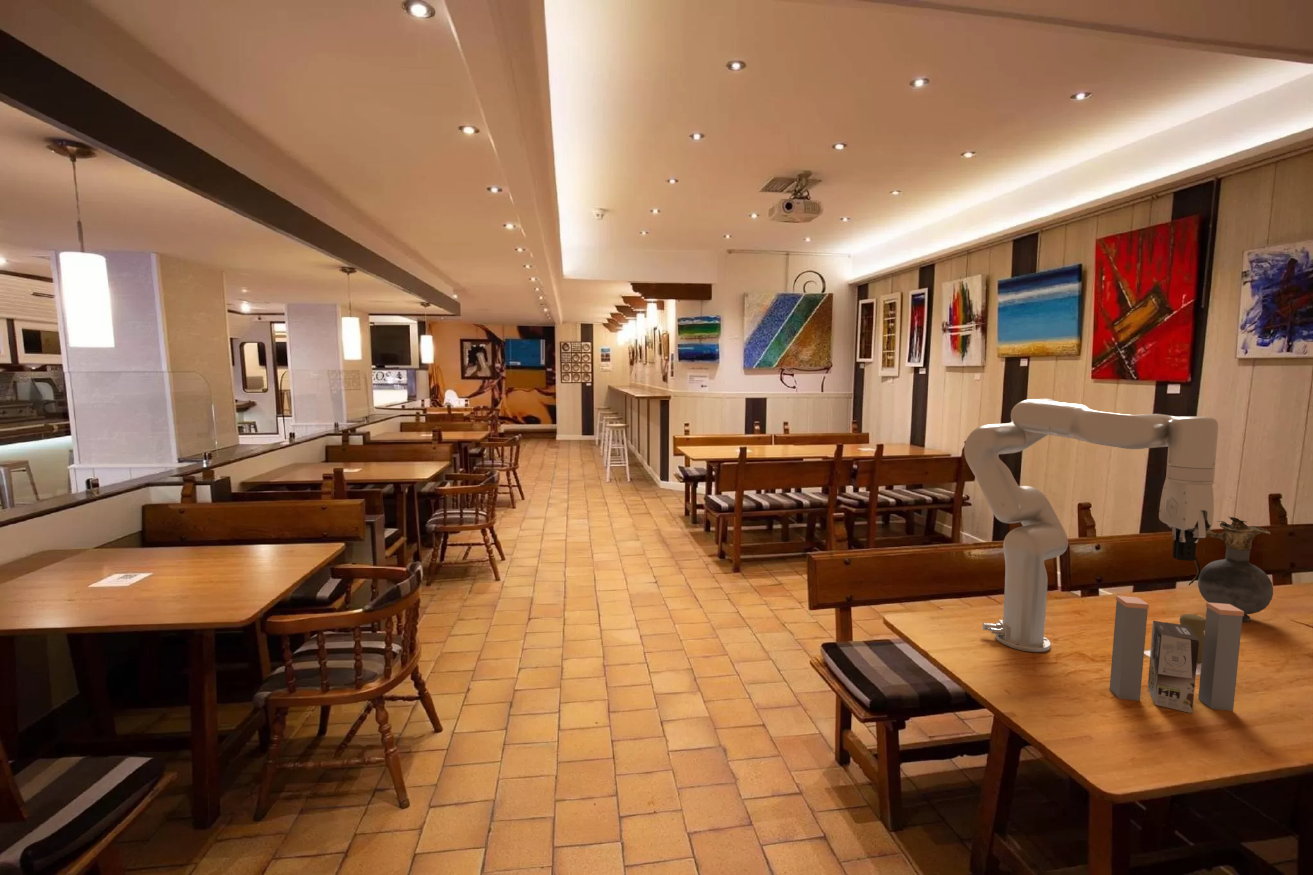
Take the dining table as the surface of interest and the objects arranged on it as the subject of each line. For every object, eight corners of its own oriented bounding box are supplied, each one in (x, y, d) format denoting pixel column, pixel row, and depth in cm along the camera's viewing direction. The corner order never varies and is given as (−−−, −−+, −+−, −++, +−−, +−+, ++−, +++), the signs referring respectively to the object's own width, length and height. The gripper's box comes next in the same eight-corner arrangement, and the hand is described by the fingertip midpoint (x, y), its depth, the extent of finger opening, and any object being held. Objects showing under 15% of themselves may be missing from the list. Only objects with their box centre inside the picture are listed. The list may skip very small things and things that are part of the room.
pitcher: (1263, 630, 163) (1274, 525, 160) (1175, 607, 179) (1184, 512, 176) (1274, 621, 169) (1285, 520, 166) (1188, 600, 185) (1197, 508, 182)
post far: (1210, 708, 125) (1219, 609, 122) (1197, 698, 129) (1206, 602, 127) (1234, 711, 124) (1244, 611, 121) (1220, 700, 128) (1229, 603, 126)
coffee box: (1193, 714, 123) (1200, 640, 121) (1154, 705, 126) (1160, 633, 124) (1183, 694, 130) (1190, 625, 129) (1146, 686, 134) (1152, 618, 132)
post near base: (1118, 698, 129) (1126, 602, 126) (1108, 688, 133) (1116, 595, 131) (1140, 701, 128) (1149, 604, 125) (1130, 691, 132) (1138, 597, 130)
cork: (1212, 664, 144) (1216, 621, 143) (1184, 662, 145) (1188, 619, 144) (1195, 653, 150) (1199, 612, 149) (1168, 651, 151) (1172, 610, 150)
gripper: (1148, 469, 131) (1143, 548, 133) (1191, 480, 117) (1185, 569, 118) (1188, 470, 129) (1181, 550, 131) (1236, 481, 115) (1229, 571, 117)
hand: (1183, 559), depth 125 cm, fingers closed
